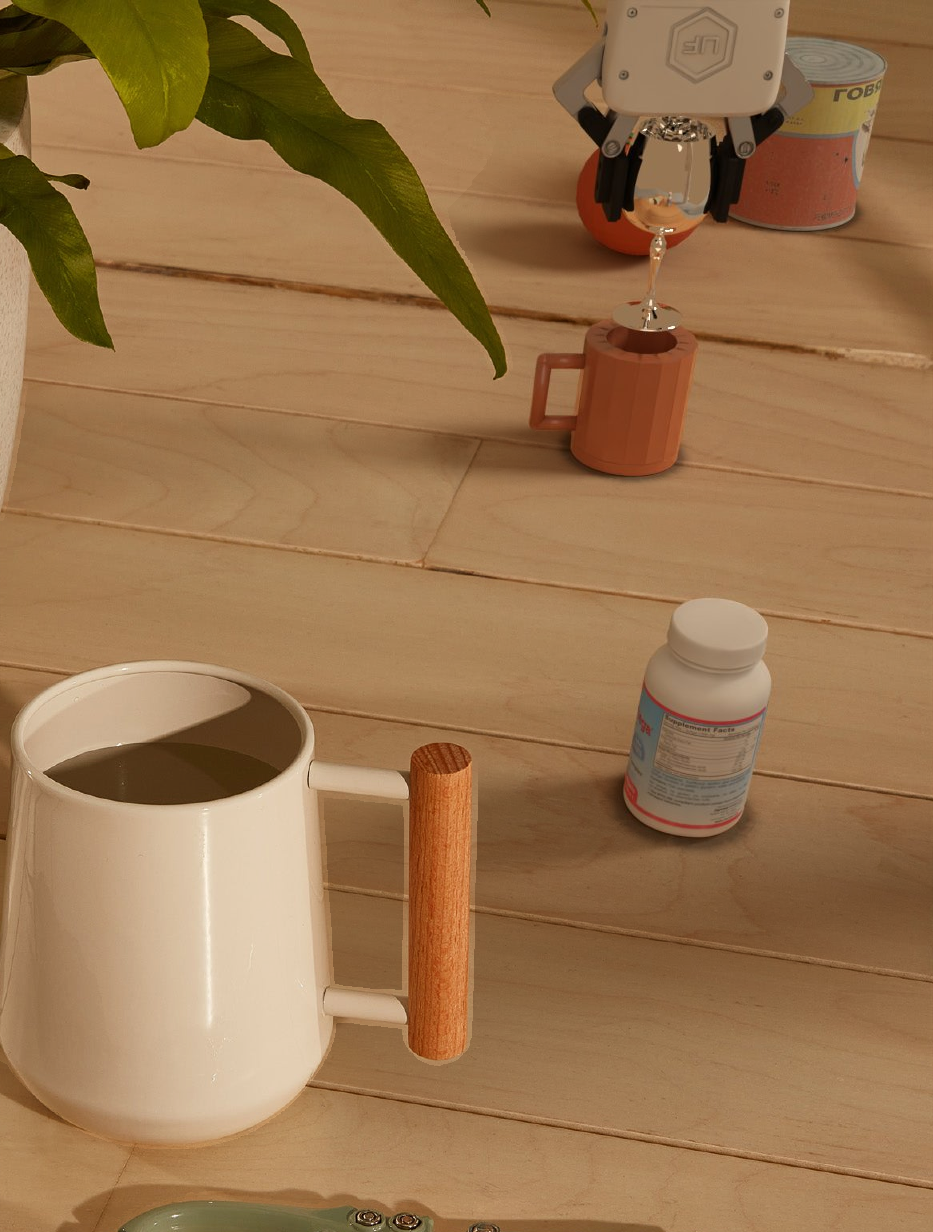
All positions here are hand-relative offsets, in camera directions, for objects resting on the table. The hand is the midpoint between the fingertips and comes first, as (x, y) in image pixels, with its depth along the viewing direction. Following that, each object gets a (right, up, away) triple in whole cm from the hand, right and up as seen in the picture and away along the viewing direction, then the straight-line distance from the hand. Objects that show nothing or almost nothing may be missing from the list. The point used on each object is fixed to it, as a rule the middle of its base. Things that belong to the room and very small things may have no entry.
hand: (663, 211), depth 126 cm
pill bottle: (-5, -37, -20) cm, 42 cm away
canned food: (+22, +13, +44) cm, 51 cm away
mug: (-1, -13, +10) cm, 17 cm away
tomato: (+7, +8, +37) cm, 38 cm away
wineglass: (0, -6, +4) cm, 7 cm away
